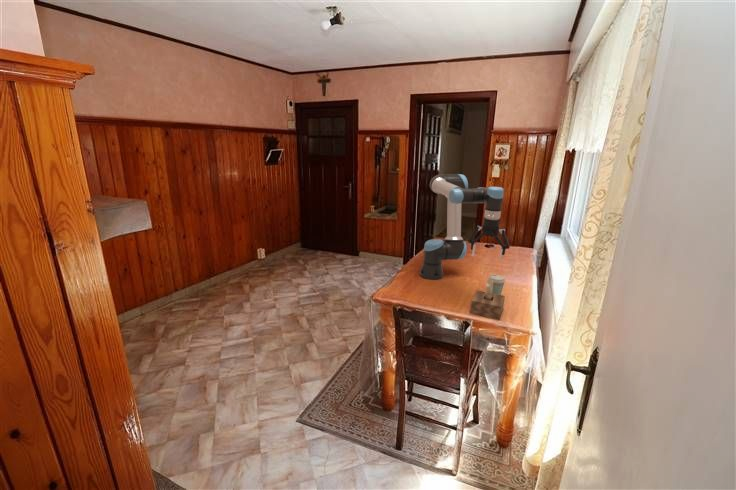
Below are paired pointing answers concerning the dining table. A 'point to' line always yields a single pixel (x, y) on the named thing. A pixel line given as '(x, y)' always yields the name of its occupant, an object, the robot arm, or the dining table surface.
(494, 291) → the coffee cup
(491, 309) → the bore block
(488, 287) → the dowel
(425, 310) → the dining table surface
